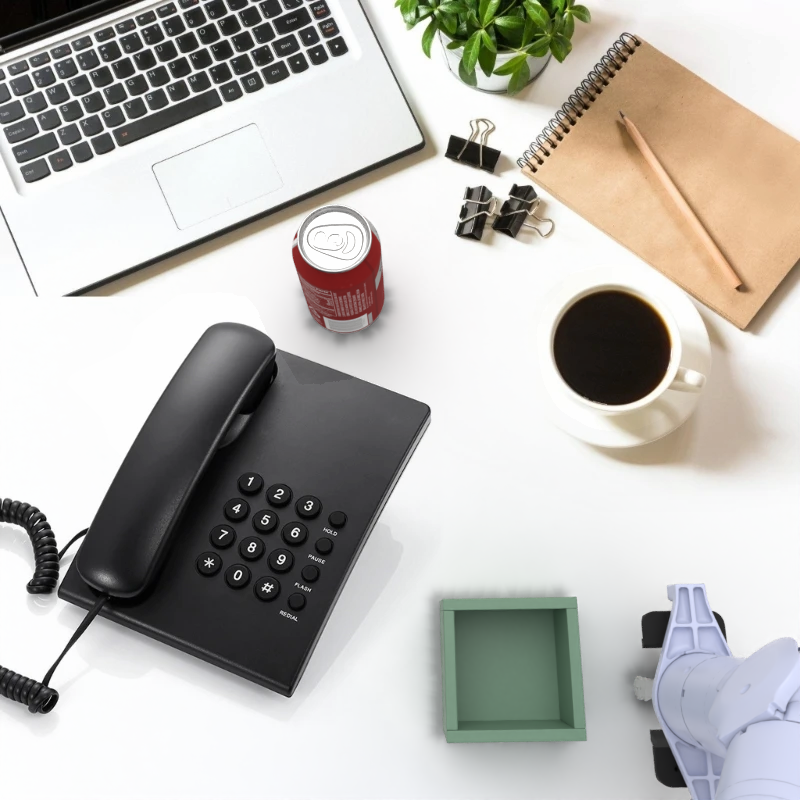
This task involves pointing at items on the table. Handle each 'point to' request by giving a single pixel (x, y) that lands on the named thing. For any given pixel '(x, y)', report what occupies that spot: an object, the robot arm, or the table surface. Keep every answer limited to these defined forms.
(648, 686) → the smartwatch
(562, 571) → the table surface
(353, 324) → the soda can
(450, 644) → the bin
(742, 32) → the table surface
